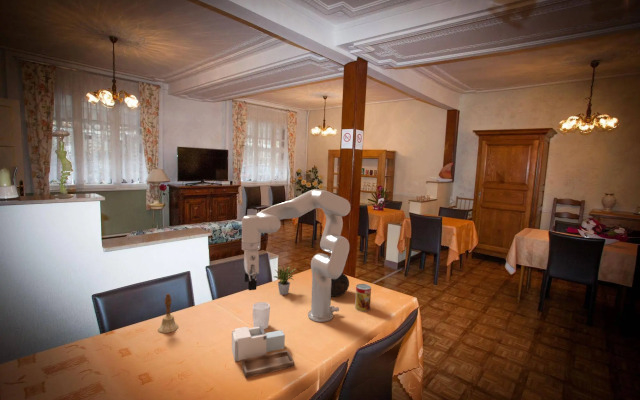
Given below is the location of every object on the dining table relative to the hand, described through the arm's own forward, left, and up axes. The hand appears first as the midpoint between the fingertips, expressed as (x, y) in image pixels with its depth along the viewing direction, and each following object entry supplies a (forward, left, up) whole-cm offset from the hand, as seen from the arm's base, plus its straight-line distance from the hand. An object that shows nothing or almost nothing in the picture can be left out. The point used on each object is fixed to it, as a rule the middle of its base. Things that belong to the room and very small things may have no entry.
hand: (250, 285), depth 130 cm
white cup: (-7, -9, -24) cm, 26 cm away
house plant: (-28, -41, -24) cm, 55 cm away
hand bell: (+32, -21, -24) cm, 45 cm away
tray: (-3, +20, -24) cm, 31 cm away
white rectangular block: (-5, +10, -24) cm, 26 cm away
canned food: (-62, -10, -24) cm, 67 cm away
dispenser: (+2, +10, -24) cm, 26 cm away
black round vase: (-56, -33, -24) cm, 69 cm away
